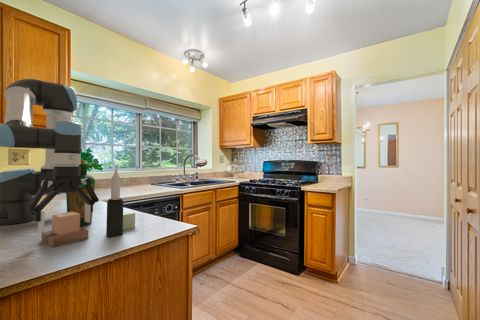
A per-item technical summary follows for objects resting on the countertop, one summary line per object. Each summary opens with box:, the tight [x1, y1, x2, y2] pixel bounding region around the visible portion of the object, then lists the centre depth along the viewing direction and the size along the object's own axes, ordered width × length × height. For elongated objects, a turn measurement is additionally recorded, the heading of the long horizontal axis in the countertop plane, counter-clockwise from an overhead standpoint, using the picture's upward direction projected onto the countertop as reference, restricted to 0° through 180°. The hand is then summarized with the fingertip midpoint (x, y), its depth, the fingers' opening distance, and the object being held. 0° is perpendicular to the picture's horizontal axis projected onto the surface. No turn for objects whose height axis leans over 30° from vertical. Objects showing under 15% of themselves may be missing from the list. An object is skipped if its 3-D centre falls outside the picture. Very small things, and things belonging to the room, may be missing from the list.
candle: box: [105, 168, 124, 238], centre depth 84 cm, size 5×5×25 cm
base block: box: [41, 226, 90, 248], centre depth 78 cm, size 10×10×3 cm
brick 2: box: [123, 210, 136, 230], centre depth 94 cm, size 6×6×6 cm
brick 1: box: [51, 211, 81, 235], centre depth 78 cm, size 6×6×6 cm
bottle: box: [65, 159, 96, 227], centre depth 97 cm, size 11×11×28 cm
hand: (65, 226), depth 78 cm, fingers open, 13 cm apart
